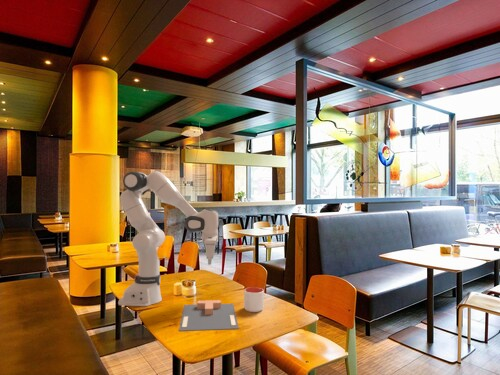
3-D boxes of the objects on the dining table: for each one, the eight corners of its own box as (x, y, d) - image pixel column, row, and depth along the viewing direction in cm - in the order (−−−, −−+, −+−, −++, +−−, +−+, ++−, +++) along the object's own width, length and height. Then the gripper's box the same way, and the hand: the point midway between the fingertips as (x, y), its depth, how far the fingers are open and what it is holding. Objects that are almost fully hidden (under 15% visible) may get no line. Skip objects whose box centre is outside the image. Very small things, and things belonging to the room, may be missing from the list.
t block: (196, 315, 156) (196, 309, 156) (197, 306, 168) (197, 300, 168) (221, 314, 158) (221, 308, 158) (220, 305, 169) (220, 300, 170)
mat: (178, 331, 138) (178, 329, 138) (184, 305, 170) (184, 304, 170) (238, 328, 142) (238, 327, 142) (233, 303, 173) (233, 302, 173)
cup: (261, 313, 160) (262, 293, 160) (242, 312, 162) (242, 292, 162) (264, 306, 170) (265, 288, 170) (246, 305, 172) (246, 286, 172)
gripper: (204, 235, 185) (204, 259, 185) (204, 241, 165) (203, 268, 165) (215, 236, 186) (215, 259, 186) (216, 241, 166) (215, 268, 165)
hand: (209, 263), depth 175 cm, fingers closed
